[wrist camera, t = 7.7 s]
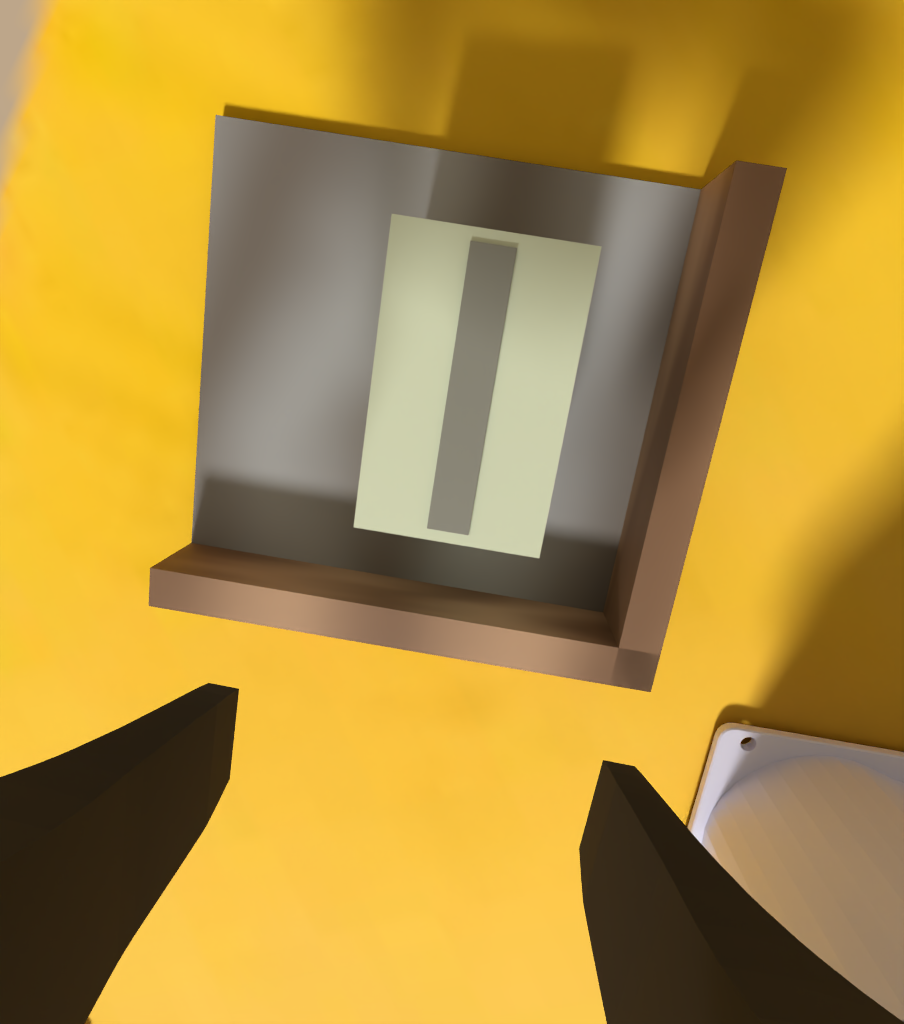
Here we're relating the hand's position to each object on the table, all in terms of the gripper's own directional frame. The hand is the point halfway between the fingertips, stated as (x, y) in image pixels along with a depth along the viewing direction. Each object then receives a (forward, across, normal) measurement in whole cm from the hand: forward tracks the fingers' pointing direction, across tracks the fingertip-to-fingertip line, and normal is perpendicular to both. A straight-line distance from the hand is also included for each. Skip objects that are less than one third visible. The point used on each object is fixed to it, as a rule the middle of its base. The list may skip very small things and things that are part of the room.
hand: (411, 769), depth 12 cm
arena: (+9, +1, -6) cm, 11 cm away
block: (+9, 0, -7) cm, 11 cm away
